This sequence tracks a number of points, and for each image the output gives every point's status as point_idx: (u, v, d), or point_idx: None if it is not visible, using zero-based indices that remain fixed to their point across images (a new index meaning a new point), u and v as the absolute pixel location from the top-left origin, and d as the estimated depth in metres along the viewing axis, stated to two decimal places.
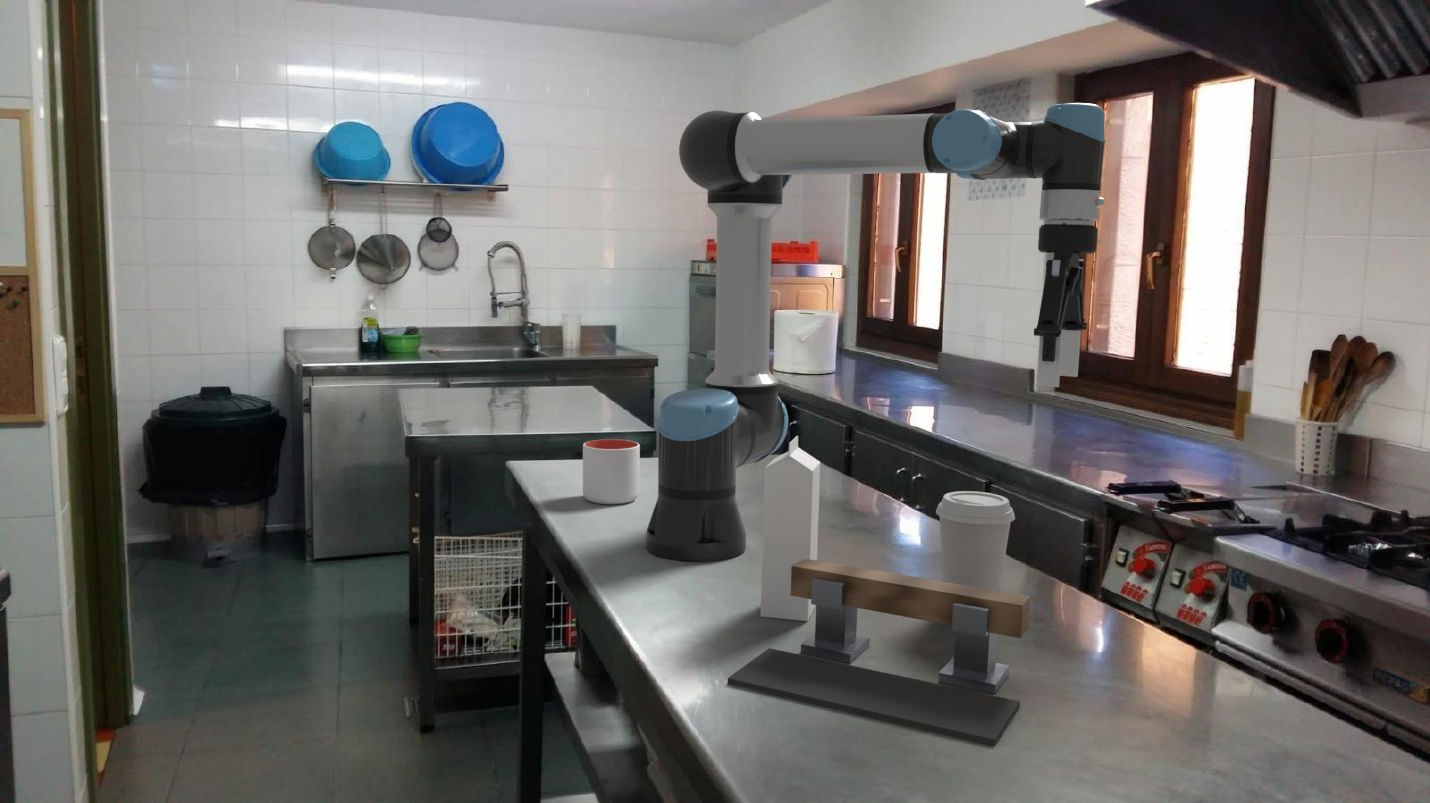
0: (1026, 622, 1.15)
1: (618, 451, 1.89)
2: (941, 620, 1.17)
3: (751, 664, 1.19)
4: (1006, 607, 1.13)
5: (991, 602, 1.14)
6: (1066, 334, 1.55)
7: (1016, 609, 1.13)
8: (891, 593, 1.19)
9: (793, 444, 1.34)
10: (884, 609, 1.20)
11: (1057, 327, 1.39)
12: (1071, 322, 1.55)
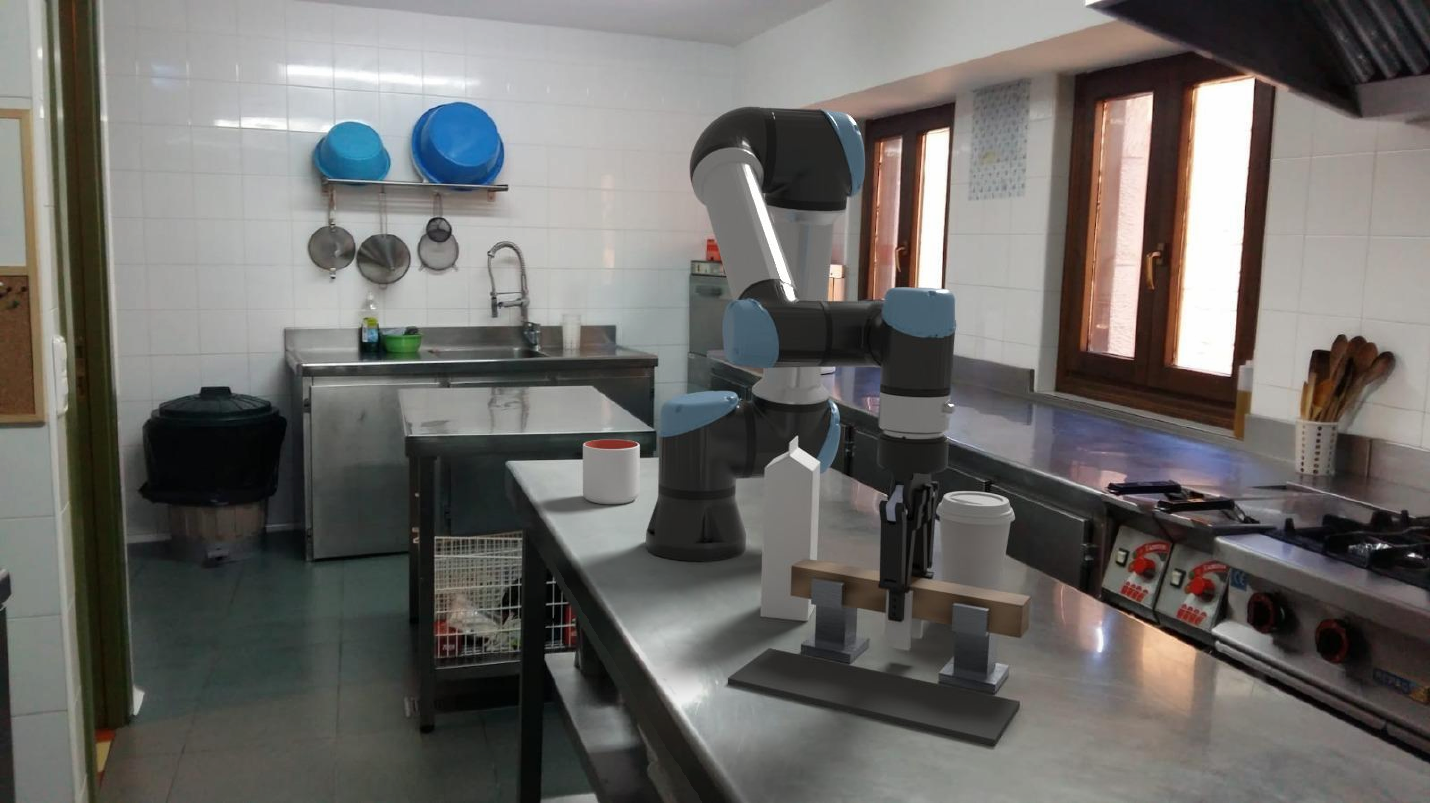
0: (1026, 622, 1.15)
1: (618, 451, 1.89)
2: (941, 620, 1.17)
3: (751, 664, 1.19)
4: (1006, 607, 1.13)
5: (991, 602, 1.14)
6: None
7: (1016, 609, 1.13)
8: None
9: (793, 444, 1.34)
10: (884, 609, 1.20)
11: (902, 587, 1.15)
12: (914, 566, 1.23)
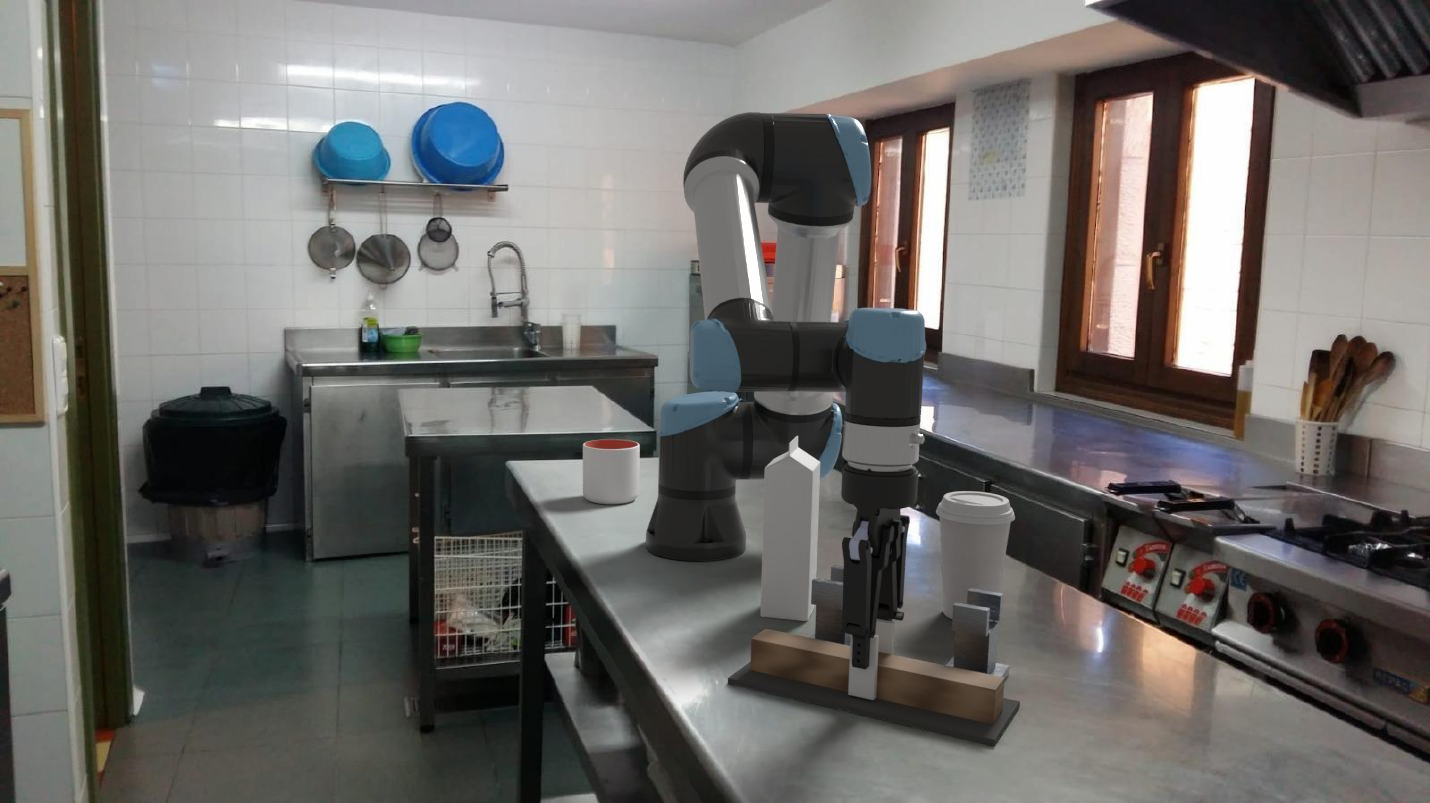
0: (1000, 706, 1.07)
1: (618, 451, 1.89)
2: (909, 702, 1.09)
3: None
4: (978, 691, 1.05)
5: (962, 685, 1.06)
6: (875, 626, 1.14)
7: (989, 694, 1.05)
8: None
9: (793, 444, 1.34)
10: None
11: (866, 632, 1.06)
12: (883, 606, 1.14)
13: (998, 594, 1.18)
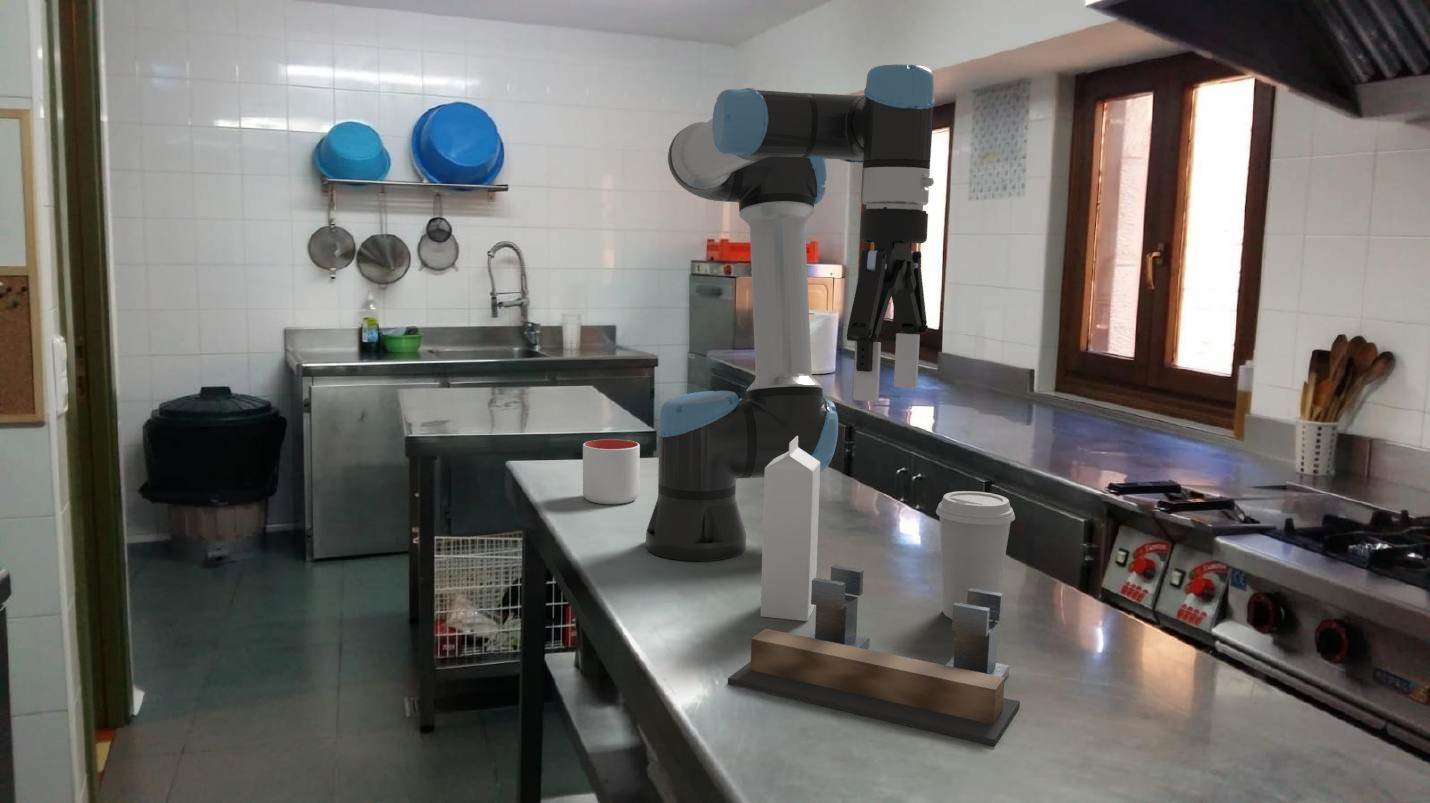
0: (1000, 706, 1.07)
1: (618, 451, 1.89)
2: (909, 702, 1.09)
3: None
4: (978, 691, 1.05)
5: (961, 685, 1.06)
6: (903, 338, 1.32)
7: (989, 694, 1.05)
8: (856, 672, 1.11)
9: (793, 444, 1.34)
10: (848, 688, 1.12)
11: (870, 331, 1.17)
12: (909, 324, 1.32)
13: (998, 594, 1.18)
